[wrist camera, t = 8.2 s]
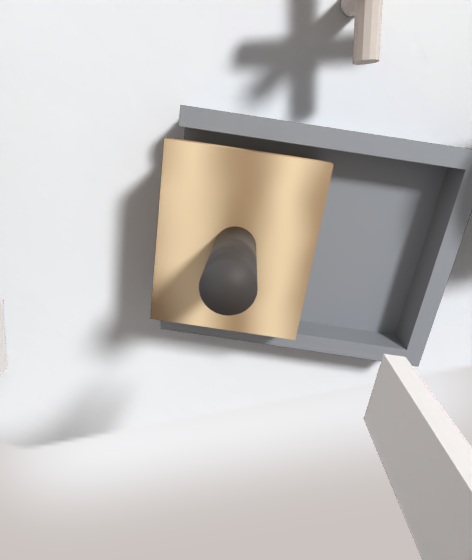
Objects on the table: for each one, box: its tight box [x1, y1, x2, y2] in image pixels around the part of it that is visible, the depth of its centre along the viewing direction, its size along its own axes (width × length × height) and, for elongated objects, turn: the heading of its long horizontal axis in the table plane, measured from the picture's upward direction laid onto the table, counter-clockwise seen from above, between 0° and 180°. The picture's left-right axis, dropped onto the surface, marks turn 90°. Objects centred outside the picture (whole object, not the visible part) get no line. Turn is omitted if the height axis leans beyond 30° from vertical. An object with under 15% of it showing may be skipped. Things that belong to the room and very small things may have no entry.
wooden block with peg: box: [150, 138, 334, 340], centre depth 28 cm, size 12×14×15 cm
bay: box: [161, 105, 472, 366], centre depth 35 cm, size 24×19×4 cm
